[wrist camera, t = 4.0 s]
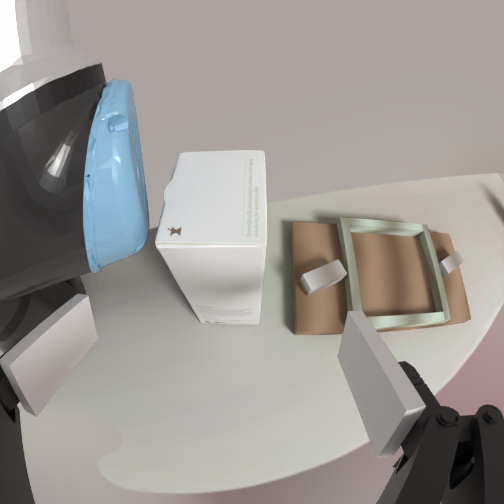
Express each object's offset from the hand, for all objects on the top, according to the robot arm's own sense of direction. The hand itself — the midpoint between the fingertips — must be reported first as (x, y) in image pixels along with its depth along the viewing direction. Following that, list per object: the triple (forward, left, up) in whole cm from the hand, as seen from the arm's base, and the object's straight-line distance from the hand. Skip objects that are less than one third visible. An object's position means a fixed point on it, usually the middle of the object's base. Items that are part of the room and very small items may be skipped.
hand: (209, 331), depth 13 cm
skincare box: (-1, +8, -15) cm, 17 cm away
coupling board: (+19, +10, -15) cm, 26 cm away
